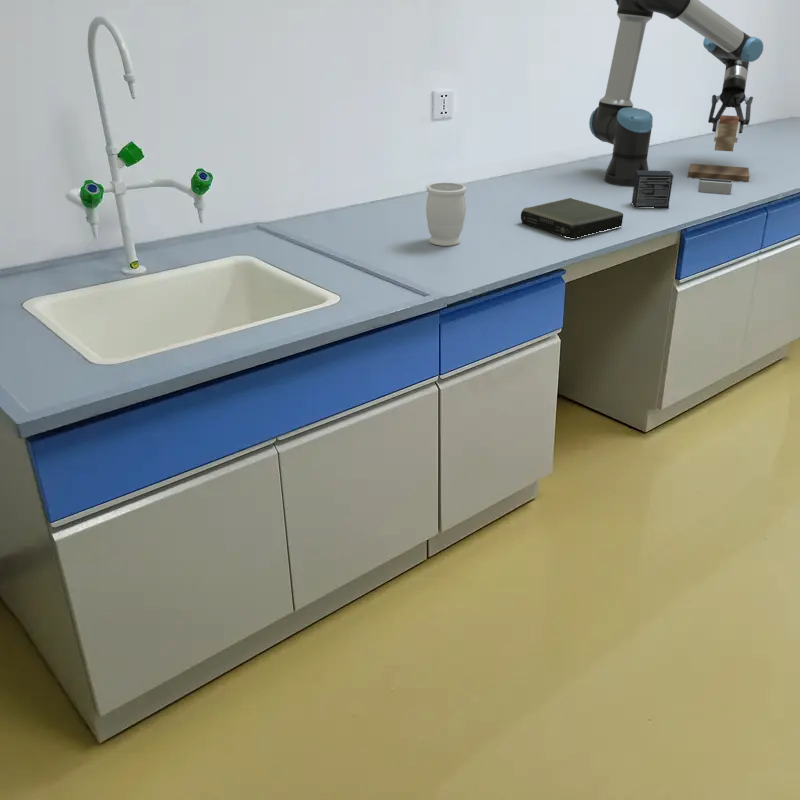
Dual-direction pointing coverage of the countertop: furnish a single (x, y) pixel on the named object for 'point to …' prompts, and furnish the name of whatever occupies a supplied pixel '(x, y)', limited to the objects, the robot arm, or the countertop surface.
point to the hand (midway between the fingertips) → (725, 139)
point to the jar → (445, 212)
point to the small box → (652, 189)
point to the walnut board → (719, 172)
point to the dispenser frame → (715, 186)
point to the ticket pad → (726, 133)
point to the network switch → (571, 217)
